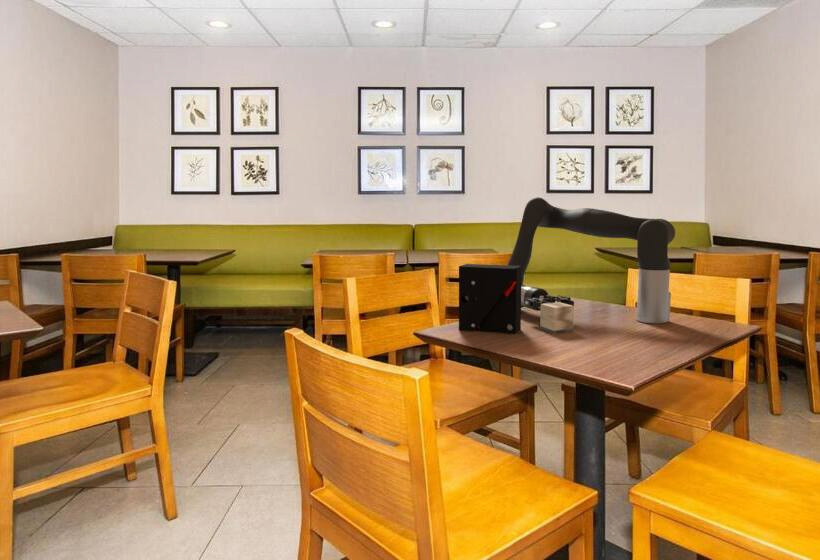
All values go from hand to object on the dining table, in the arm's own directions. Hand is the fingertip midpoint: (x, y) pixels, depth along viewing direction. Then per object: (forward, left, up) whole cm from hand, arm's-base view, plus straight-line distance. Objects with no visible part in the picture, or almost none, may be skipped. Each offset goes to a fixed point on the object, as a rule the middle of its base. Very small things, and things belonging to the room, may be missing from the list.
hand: (561, 305), depth 174 cm
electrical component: (+22, -6, -7) cm, 24 cm away
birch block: (+4, +4, -7) cm, 9 cm away
